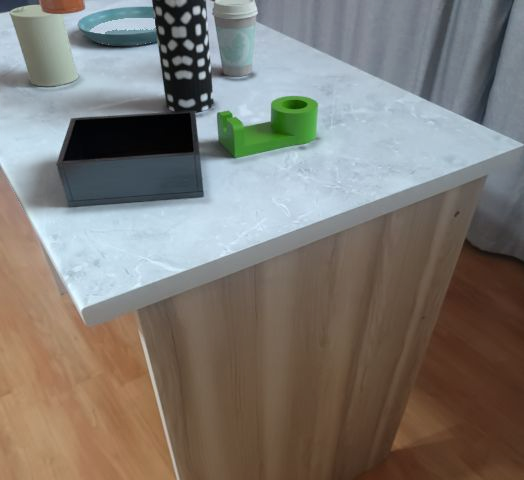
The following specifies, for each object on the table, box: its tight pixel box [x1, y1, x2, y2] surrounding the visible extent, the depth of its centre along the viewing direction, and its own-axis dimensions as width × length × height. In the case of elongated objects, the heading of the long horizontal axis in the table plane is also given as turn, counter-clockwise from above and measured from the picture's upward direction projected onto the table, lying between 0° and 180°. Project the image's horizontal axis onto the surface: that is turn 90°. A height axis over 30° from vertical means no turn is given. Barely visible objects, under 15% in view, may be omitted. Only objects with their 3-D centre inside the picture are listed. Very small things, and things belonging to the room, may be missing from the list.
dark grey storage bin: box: [55, 110, 205, 208], centre depth 70 cm, size 17×14×6 cm
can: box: [9, 3, 79, 87], centre depth 97 cm, size 9×9×12 cm
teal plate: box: [77, 6, 158, 47], centre depth 122 cm, size 24×24×3 cm
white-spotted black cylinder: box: [151, 0, 215, 113], centre depth 84 cm, size 8×8×20 cm
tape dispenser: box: [216, 95, 319, 159], centre depth 79 cm, size 15×7×5 cm, turn 116°
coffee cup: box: [211, 0, 259, 77], centre depth 99 cm, size 8×9×12 cm
